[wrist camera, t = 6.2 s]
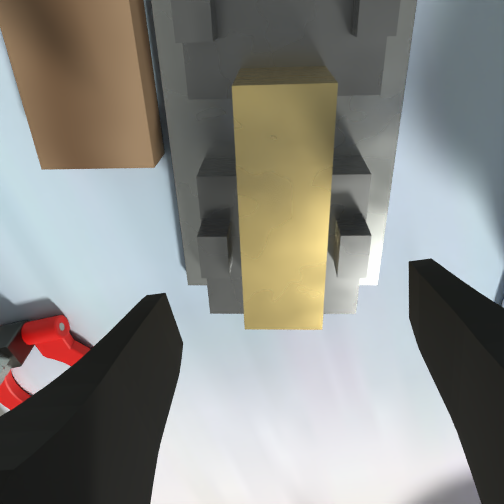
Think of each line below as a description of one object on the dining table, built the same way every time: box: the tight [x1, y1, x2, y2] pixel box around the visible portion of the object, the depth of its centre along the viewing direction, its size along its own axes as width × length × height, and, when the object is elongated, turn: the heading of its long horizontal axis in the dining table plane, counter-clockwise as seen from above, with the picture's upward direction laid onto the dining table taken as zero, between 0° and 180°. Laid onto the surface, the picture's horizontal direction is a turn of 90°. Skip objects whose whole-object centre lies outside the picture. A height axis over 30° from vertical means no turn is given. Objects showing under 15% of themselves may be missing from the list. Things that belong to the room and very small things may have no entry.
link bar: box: [232, 66, 338, 330], centre depth 16 cm, size 3×9×4 cm, turn 2°
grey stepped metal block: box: [151, 0, 417, 314], centre depth 17 cm, size 10×17×5 cm, turn 2°
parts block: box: [0, 0, 165, 169], centre depth 17 cm, size 5×11×2 cm, turn 2°
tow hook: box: [0, 315, 90, 410], centre depth 23 cm, size 8×13×9 cm
